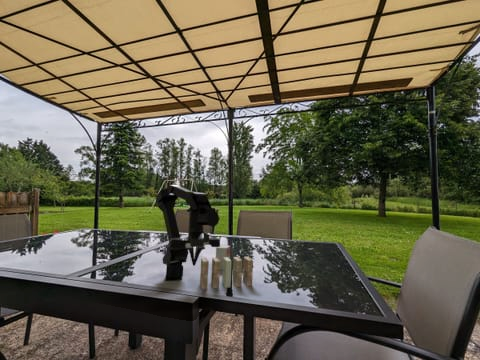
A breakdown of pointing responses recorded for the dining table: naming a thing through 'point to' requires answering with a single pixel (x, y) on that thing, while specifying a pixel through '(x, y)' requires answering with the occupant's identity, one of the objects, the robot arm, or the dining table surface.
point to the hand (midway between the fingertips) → (193, 265)
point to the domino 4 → (237, 271)
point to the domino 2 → (215, 272)
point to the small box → (222, 253)
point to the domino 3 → (226, 272)
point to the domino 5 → (247, 271)
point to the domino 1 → (204, 273)
